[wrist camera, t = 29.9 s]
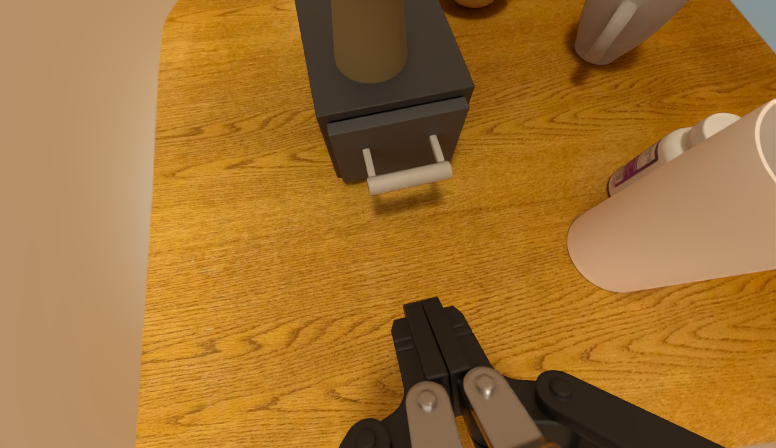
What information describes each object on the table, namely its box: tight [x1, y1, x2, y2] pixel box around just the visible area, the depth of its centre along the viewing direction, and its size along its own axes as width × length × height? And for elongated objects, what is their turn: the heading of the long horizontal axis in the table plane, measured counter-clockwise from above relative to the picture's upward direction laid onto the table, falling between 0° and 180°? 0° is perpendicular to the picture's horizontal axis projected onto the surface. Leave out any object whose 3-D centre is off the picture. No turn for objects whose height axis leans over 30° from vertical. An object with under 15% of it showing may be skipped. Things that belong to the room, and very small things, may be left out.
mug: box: [574, 0, 688, 65], centre depth 32 cm, size 12×9×10 cm
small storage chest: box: [295, 0, 474, 177], centre depth 30 cm, size 15×13×10 cm
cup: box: [567, 98, 776, 293], centre depth 21 cm, size 8×8×16 cm
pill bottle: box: [609, 113, 741, 196], centre depth 26 cm, size 5×5×10 cm
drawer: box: [327, 97, 469, 196], centre depth 29 cm, size 18×11×8 cm, turn 13°
